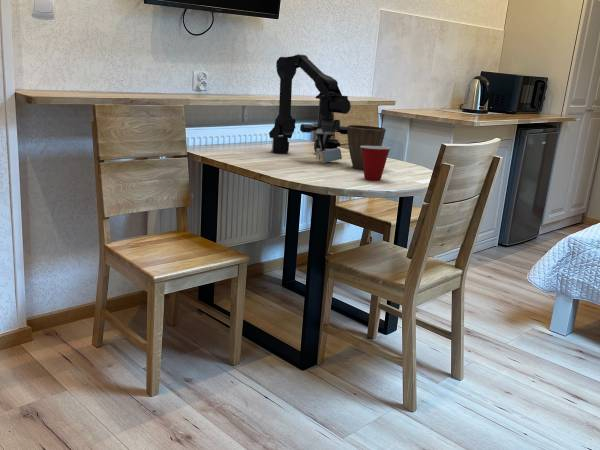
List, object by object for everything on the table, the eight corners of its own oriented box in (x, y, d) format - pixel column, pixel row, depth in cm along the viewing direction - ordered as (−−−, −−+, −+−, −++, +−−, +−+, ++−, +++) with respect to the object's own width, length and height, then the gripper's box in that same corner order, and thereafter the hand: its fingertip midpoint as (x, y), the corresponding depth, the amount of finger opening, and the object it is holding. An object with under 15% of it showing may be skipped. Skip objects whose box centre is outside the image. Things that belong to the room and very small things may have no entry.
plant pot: (337, 164, 236) (340, 124, 232) (370, 164, 241) (374, 125, 237) (353, 171, 223) (357, 129, 219) (388, 172, 228) (393, 130, 224)
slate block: (321, 153, 236) (340, 149, 237) (318, 151, 239) (337, 147, 240) (322, 163, 237) (342, 158, 238) (320, 161, 241) (339, 157, 242)
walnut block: (318, 149, 244) (337, 150, 246) (316, 148, 248) (334, 149, 250) (318, 159, 245) (336, 160, 247) (315, 157, 249) (334, 158, 251)
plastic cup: (378, 176, 218) (382, 143, 214) (392, 182, 208) (396, 148, 205) (352, 176, 214) (355, 142, 211) (365, 182, 204) (368, 147, 201)
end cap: (334, 153, 265) (335, 138, 263) (340, 156, 258) (341, 141, 256) (313, 153, 262) (314, 137, 260) (318, 155, 255) (319, 140, 253)
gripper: (306, 111, 224) (303, 152, 228) (354, 114, 228) (350, 154, 232) (301, 109, 234) (298, 148, 238) (346, 111, 238) (343, 150, 242)
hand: (322, 150), depth 237 cm, fingers closed
